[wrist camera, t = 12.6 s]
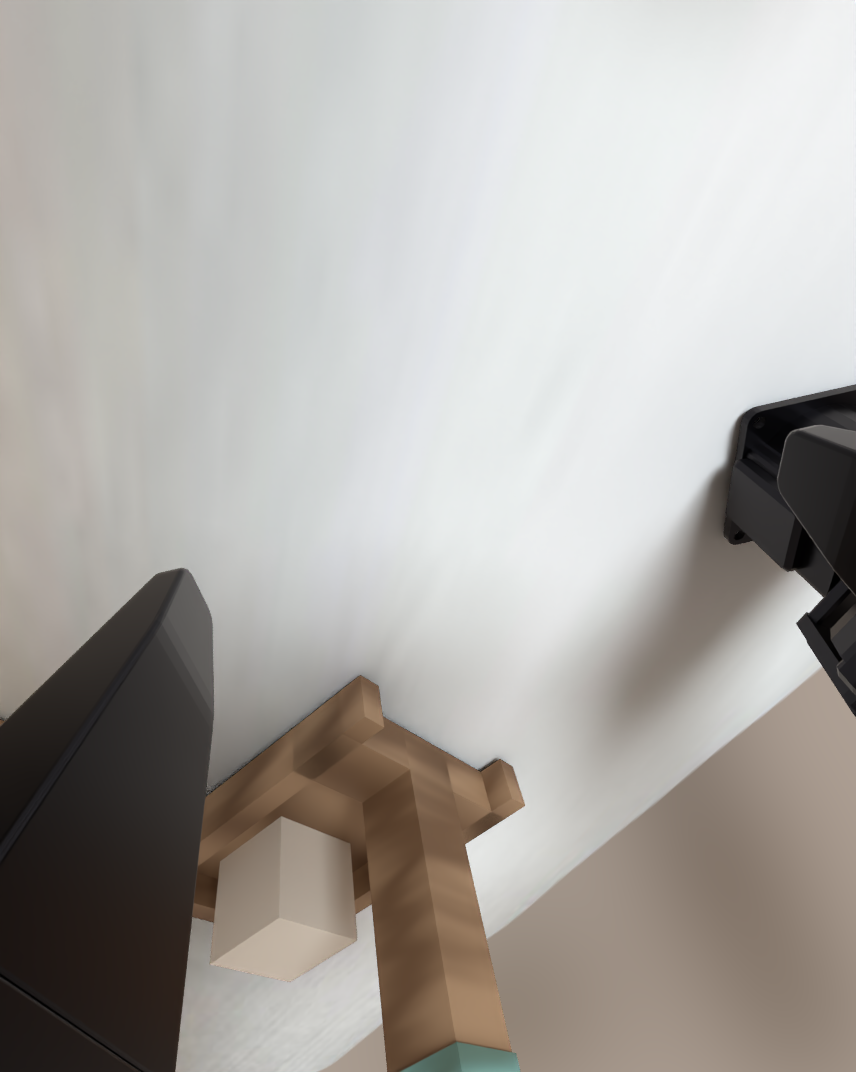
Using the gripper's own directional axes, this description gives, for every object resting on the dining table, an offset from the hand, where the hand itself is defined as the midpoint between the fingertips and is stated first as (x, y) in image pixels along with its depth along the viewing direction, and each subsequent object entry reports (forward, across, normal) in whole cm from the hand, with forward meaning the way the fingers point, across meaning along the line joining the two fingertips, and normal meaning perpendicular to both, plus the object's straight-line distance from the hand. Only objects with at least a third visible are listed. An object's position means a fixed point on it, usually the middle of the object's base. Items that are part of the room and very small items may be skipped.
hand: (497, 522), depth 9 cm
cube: (+12, +11, +28) cm, 32 cm away
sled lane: (+13, +8, +26) cm, 30 cm away
